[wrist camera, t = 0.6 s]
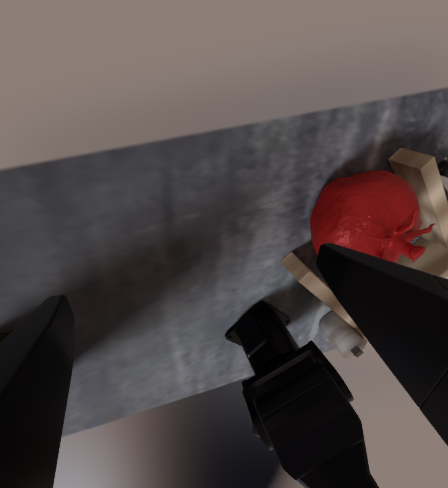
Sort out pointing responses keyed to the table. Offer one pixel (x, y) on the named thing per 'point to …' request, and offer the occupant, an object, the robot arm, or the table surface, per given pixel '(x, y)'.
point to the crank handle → (443, 171)
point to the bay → (431, 261)
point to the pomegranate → (369, 216)
